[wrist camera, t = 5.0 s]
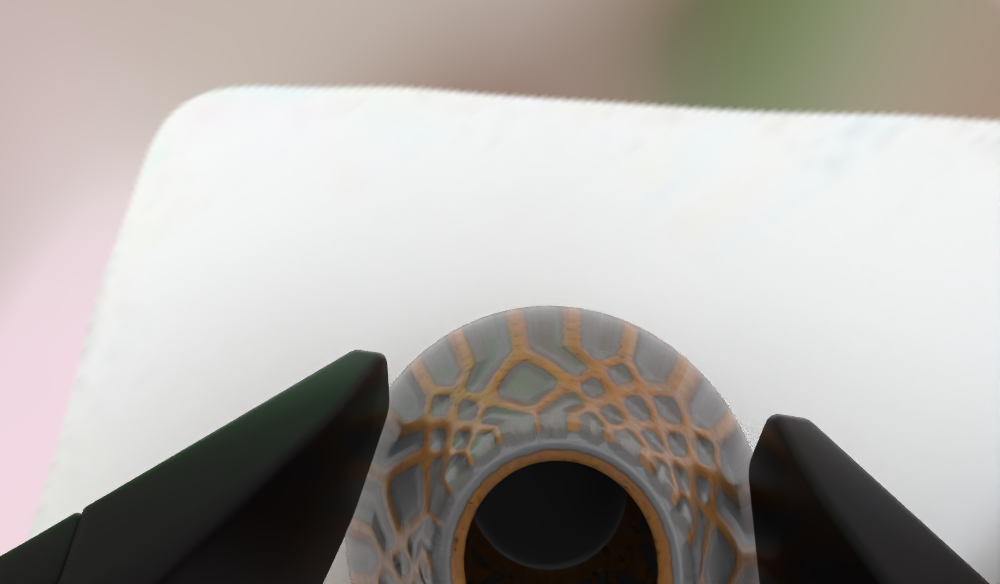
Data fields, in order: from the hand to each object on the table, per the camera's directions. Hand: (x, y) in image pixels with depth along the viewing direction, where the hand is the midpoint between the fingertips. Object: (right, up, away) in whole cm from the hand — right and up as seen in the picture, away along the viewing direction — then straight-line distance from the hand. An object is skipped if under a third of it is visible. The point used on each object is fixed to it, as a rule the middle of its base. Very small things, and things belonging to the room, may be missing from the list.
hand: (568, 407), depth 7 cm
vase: (0, -3, +6) cm, 7 cm away
